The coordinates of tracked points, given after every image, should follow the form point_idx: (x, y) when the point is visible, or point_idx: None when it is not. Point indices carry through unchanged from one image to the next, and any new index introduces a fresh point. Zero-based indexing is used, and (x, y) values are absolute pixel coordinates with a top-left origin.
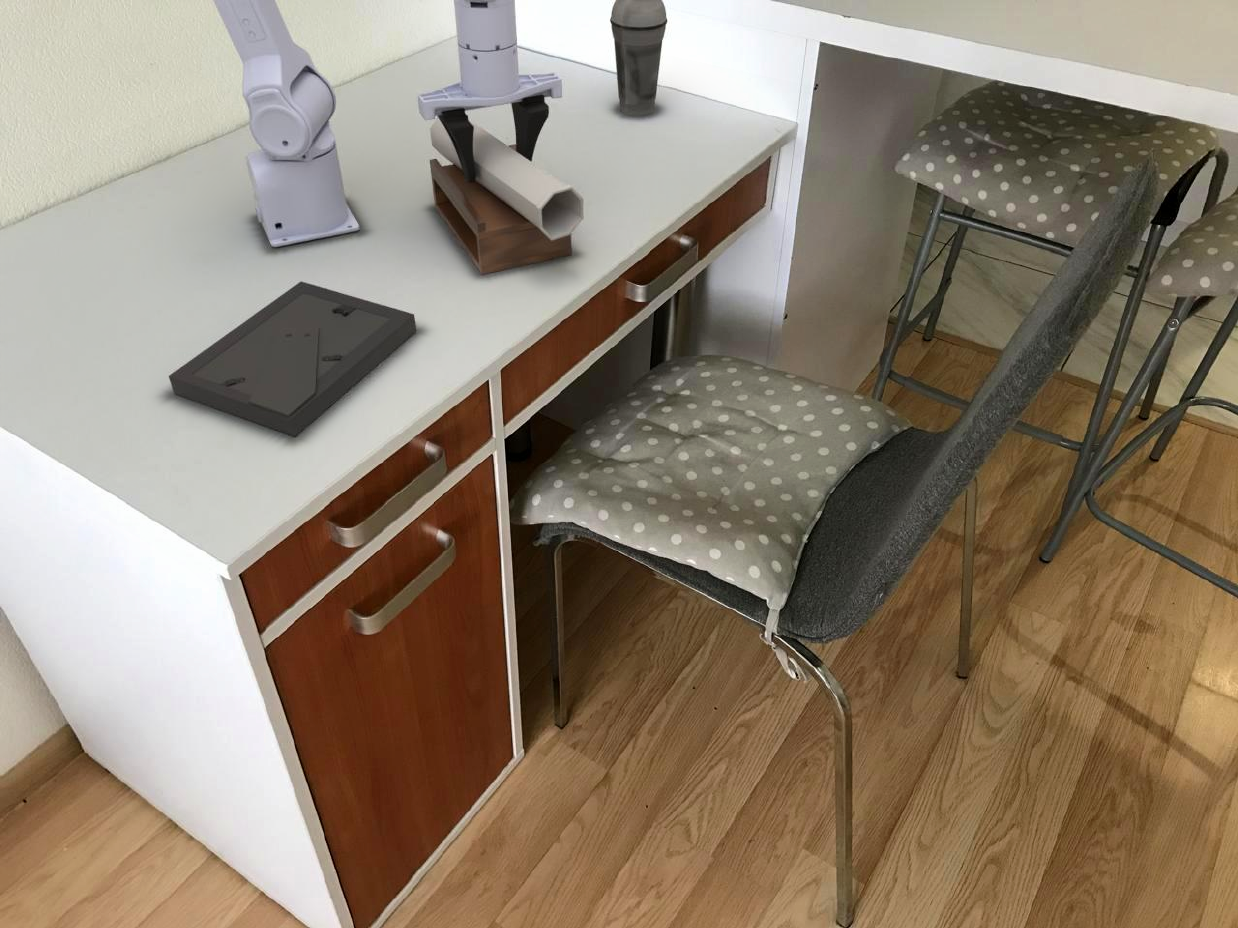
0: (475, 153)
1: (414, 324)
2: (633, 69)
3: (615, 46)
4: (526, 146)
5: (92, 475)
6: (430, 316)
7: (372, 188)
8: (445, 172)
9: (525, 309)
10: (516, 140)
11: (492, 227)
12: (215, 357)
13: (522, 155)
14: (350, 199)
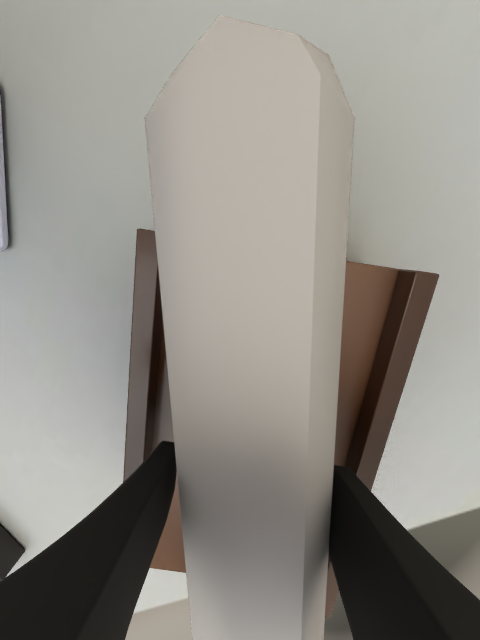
0: (194, 493)
1: (14, 564)
2: None
3: None
4: (352, 634)
5: None
6: (53, 530)
7: (86, 49)
8: (147, 341)
9: (172, 574)
10: (370, 530)
11: (159, 564)
12: None
13: (339, 547)
14: (22, 81)
